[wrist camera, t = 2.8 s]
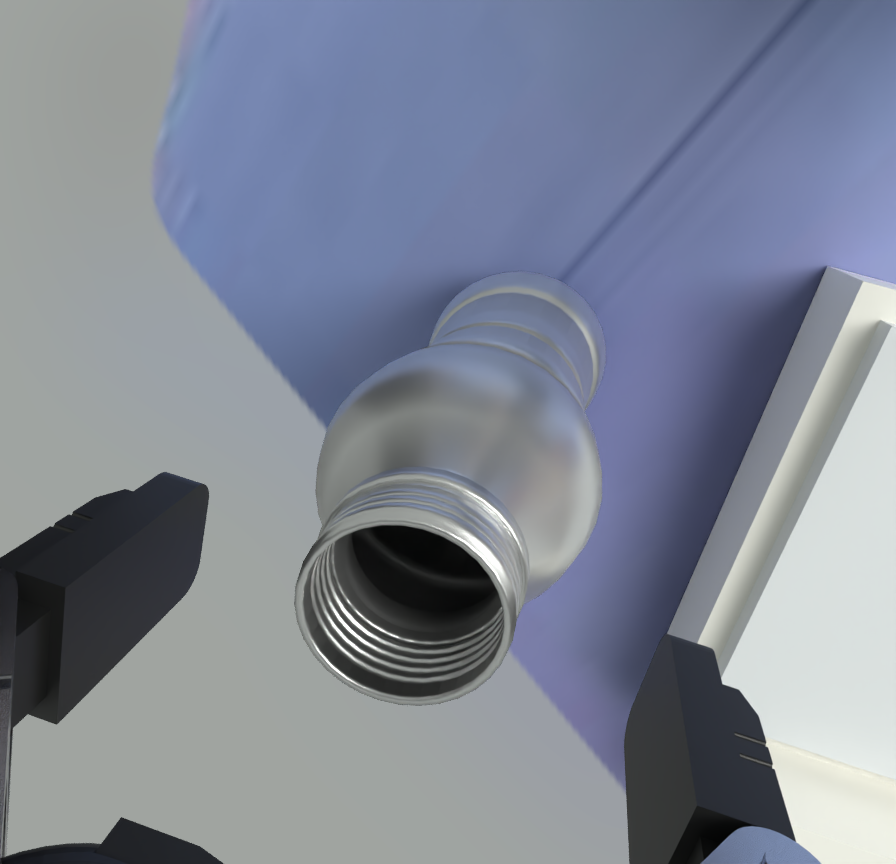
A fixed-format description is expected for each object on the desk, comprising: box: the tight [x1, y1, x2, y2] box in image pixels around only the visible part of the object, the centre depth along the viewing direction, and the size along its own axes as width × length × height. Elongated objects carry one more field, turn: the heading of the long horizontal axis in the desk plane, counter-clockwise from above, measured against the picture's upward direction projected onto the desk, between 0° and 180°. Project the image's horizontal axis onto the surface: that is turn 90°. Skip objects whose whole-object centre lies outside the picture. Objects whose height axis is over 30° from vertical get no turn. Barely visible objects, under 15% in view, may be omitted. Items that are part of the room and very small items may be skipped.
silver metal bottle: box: [294, 271, 606, 706], centre depth 21 cm, size 6×7×20 cm
